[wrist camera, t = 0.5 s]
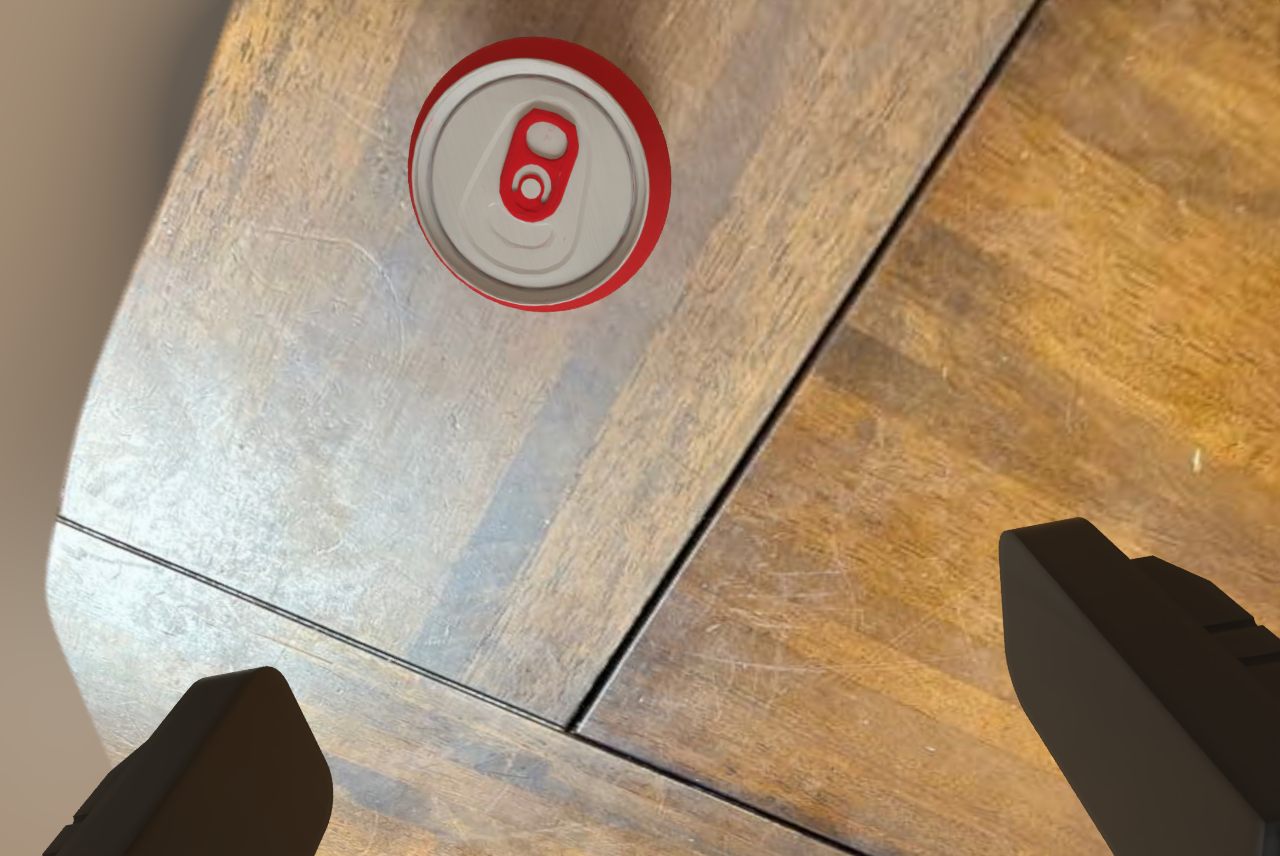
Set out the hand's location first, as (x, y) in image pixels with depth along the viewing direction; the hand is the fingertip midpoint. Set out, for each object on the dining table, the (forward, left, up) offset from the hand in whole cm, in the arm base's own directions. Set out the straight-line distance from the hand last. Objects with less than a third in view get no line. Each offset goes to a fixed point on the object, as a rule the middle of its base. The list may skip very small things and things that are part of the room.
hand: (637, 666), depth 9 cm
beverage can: (-5, -1, -23) cm, 23 cm away
